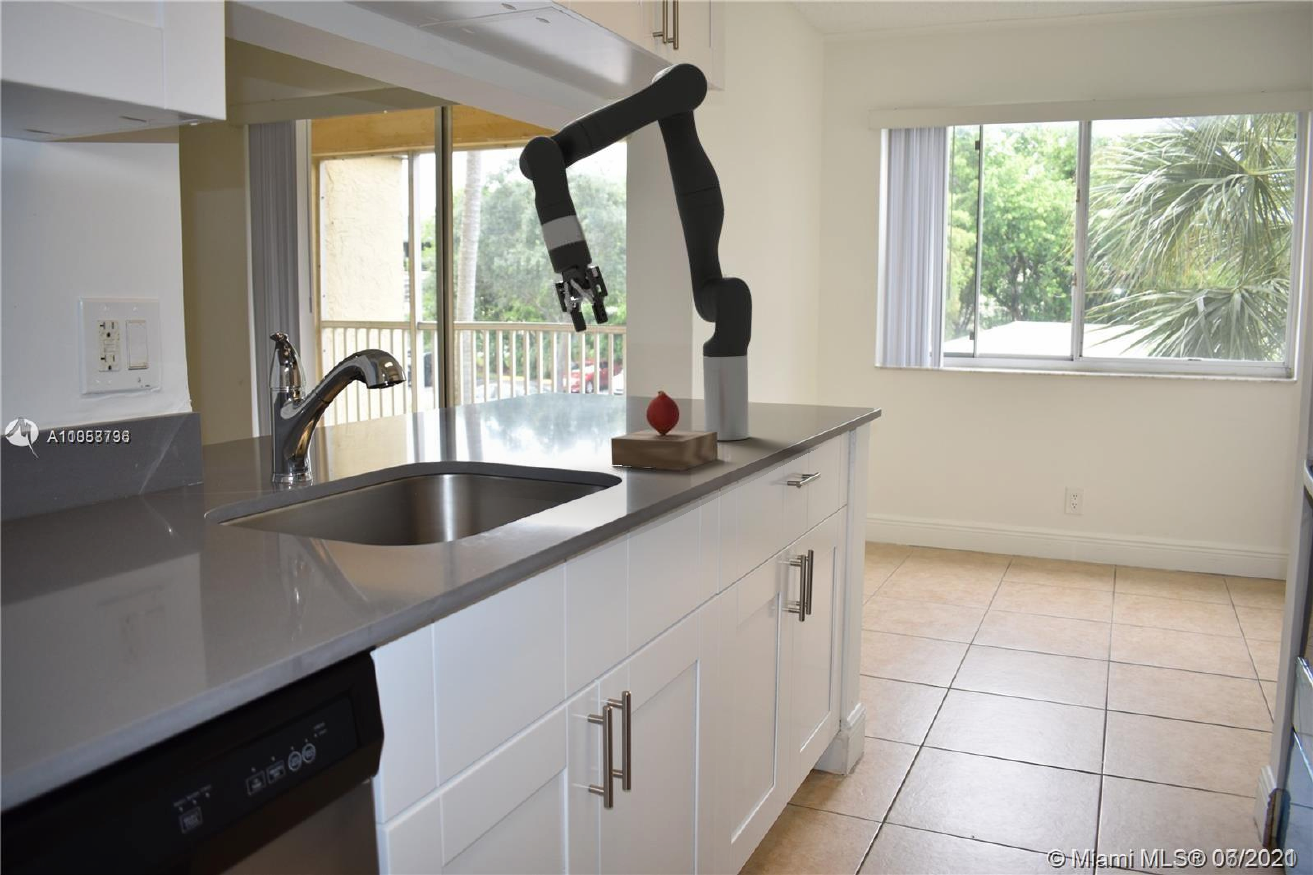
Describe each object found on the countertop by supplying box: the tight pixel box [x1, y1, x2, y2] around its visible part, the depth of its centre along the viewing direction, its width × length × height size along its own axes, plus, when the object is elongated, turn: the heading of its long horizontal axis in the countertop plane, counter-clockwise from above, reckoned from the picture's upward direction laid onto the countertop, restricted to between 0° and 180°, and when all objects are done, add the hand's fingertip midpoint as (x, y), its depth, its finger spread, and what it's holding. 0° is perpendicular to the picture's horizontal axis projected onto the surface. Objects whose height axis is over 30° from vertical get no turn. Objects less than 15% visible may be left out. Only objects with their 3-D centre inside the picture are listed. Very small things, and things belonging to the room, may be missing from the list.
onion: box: [645, 390, 680, 435], centre depth 178 cm, size 6×6×8 cm
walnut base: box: [610, 428, 719, 472], centre depth 179 cm, size 14×14×5 cm
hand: (592, 327), depth 189 cm, fingers open, 8 cm apart
